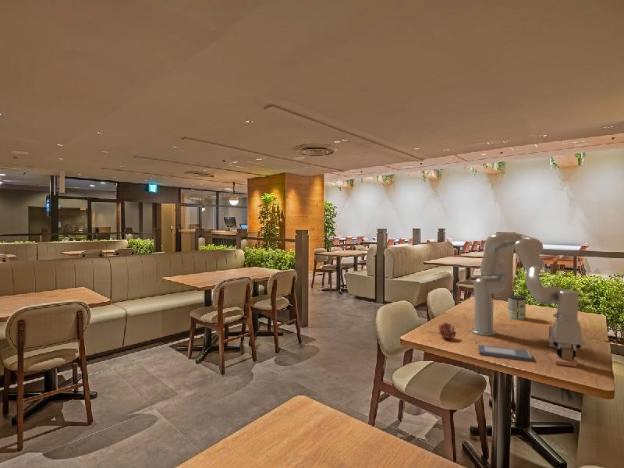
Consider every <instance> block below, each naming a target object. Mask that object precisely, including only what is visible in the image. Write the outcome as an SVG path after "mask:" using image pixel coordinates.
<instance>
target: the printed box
mask: <svg viewBox="0 0 624 468" xmlns="http://www.w3.org/2000/svg"><path fill="white" fill-rule="evenodd" d="M553 327H554V326H548V328H549V329H548V338H549V337H550V336H551V335H552V334H553ZM553 341H555V340H554V339H553ZM555 342H556V341H555ZM556 343H557V342H556ZM561 345H562V346H566V344H565V343H562V344H561ZM548 347H550V348H555V349H557V347H556V346H555V345H554V344H553V343H551V342H550V341H548Z"/></svg>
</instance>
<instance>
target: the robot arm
mask: <svg viewBox="0 0 624 468" xmlns="http://www.w3.org/2000/svg"><path fill="white" fill-rule="evenodd" d="M510 249H511V250H512V249H513V250H514V252H515V253H516V255H517V257H518V259H519V260H520V262H521V264H522V265H523V266H522V267H524V269H525V272H526V273H525V284H526V287H527V289H528V292H529V293H530V295H531V297H532V298H533V299H534V301H535V302H537V303H539V304H541V305H547V304H555V303H557V308H556V310H557V311H556V313H553V318H555V319H554V323H553V326H552V327H553V334H552V335H551V336H550V337H549V336H548V339H547V341H548V342H549V341H550V342H551V343H553V344H554V345H555V346H556V347H557V348H556V354H557V355H558V356H559V358H561V357H562V349H561V344H562V343H565V345H571V346H570V347H571V348H572V349H573V359H574V360H575V358H576V352H577V350H578V349H580V348H582V347H583V346H586V342H585V341H584V340H583V338H582V327H581V323H580V322H579V321H578V313H579V312H578V311H579V293H578V291H575V290H572V289H565V288H562V287H559V286H544V285H543V283H542V281H541V278H540V272H541V271H542V270H543V269H544V268H545V266H546V265H545V262H544V261H543V259H542V257H541V255H540V254H541V253H542V252H543V250H544V245H543V243H542V241H541V240H539V239H538V238H536V237H535V238H534V237H531V236H528V235H525V234H522V233H516V232H499V233H493V234H490V235H488V237H487V238H486V240H485V245H484V251H483V254H482V259H481V263H480V274H481V275H482V277H478V278H476V279H475V280H474V281H473V291H474V292H473V293H474V325H473V326H474V327H472V328H471V330H470V331H471V332H472V333H473V334H476V335H478V336H479V335H480V336H486V337H487V336H488V337H490V336H491V337H492V336H495V335H496V334H497V331H496V330H494V299H493V298H492V294H499V293H501V292H503V290H504V289H505V286H506V283H507V280H508V275H509V273H510V267H509V264H508V263H507V261H506V260H505V259H503V258H501V257H502V251H501V250H510ZM483 276H484V277H483ZM553 339H554V340H555V341H556V342H557V343H556V342H555V341H553Z"/></svg>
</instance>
